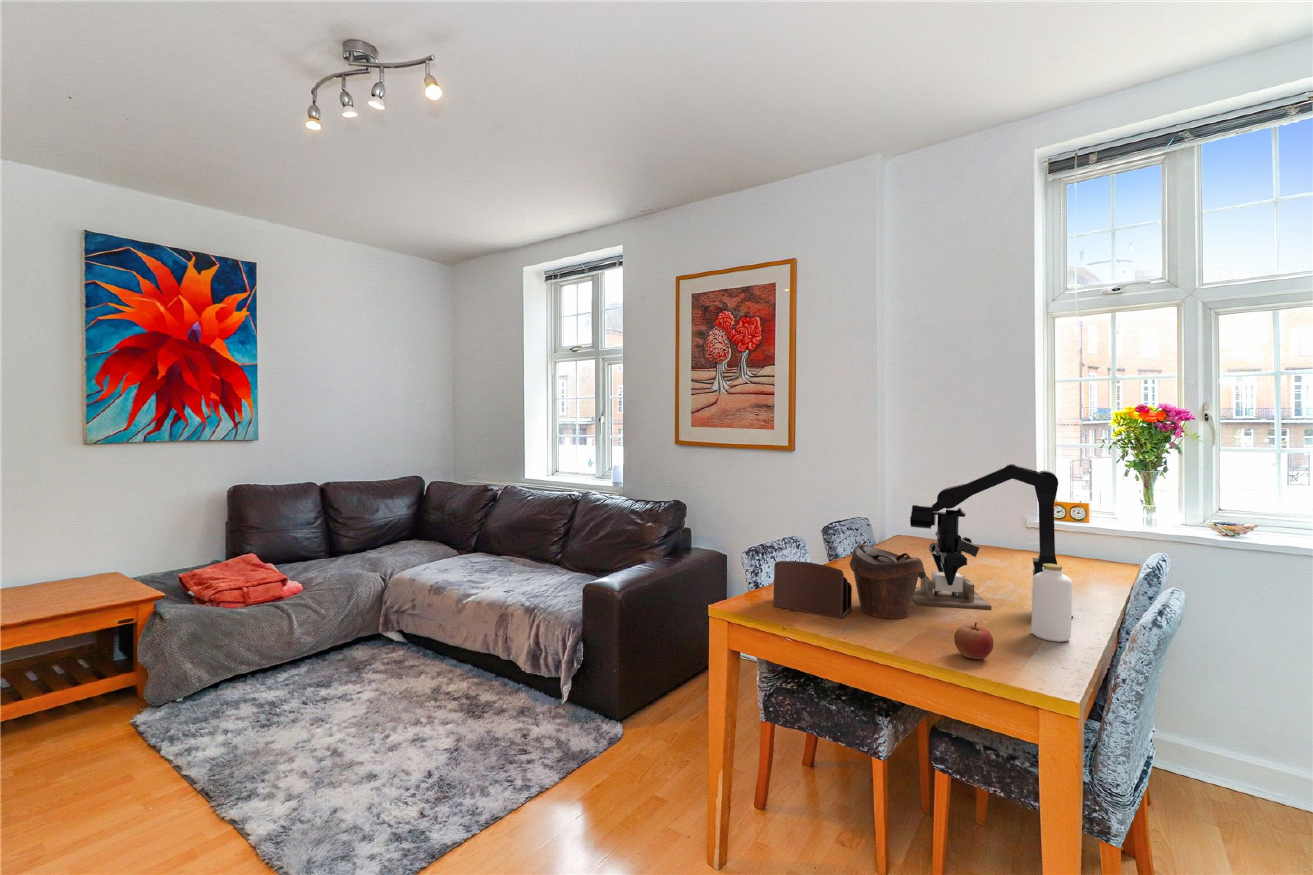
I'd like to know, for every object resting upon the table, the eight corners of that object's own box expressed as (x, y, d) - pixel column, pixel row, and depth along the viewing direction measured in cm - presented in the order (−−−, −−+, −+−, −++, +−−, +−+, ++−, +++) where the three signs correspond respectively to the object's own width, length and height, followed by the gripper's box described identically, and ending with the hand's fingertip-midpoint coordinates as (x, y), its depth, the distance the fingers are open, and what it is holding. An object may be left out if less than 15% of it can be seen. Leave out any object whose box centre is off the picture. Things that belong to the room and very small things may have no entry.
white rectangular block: (935, 590, 182) (935, 575, 182) (931, 586, 187) (931, 571, 187) (962, 592, 181) (963, 577, 180) (957, 587, 185) (958, 573, 185)
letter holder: (842, 619, 165) (843, 567, 164) (772, 607, 175) (773, 558, 175) (851, 610, 173) (852, 560, 173) (784, 598, 184) (785, 552, 183)
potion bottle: (1033, 629, 158) (1035, 559, 157) (1072, 636, 153) (1074, 565, 152) (1028, 637, 151) (1030, 565, 151) (1068, 646, 146) (1071, 571, 146)
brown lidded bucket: (932, 625, 160) (932, 556, 160) (852, 620, 164) (853, 553, 164) (917, 605, 178) (917, 544, 177) (845, 601, 182) (846, 541, 181)
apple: (983, 651, 143) (984, 617, 142) (999, 665, 135) (1000, 629, 134) (948, 649, 143) (948, 616, 143) (961, 663, 135) (962, 627, 135)
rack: (991, 609, 174) (991, 588, 174) (916, 604, 178) (917, 584, 178) (973, 593, 190) (974, 574, 190) (905, 589, 194) (906, 570, 193)
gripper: (987, 537, 172) (986, 592, 173) (967, 526, 191) (966, 575, 191) (945, 535, 175) (943, 589, 175) (929, 524, 193) (928, 573, 193)
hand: (946, 581), depth 184 cm, fingers open, 7 cm apart
